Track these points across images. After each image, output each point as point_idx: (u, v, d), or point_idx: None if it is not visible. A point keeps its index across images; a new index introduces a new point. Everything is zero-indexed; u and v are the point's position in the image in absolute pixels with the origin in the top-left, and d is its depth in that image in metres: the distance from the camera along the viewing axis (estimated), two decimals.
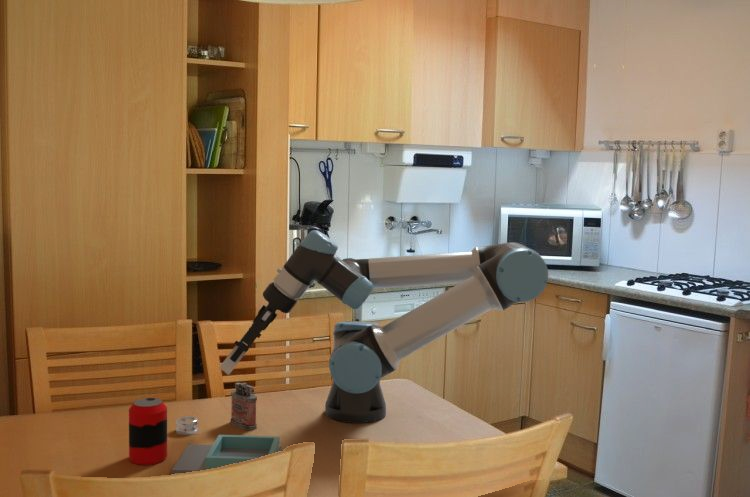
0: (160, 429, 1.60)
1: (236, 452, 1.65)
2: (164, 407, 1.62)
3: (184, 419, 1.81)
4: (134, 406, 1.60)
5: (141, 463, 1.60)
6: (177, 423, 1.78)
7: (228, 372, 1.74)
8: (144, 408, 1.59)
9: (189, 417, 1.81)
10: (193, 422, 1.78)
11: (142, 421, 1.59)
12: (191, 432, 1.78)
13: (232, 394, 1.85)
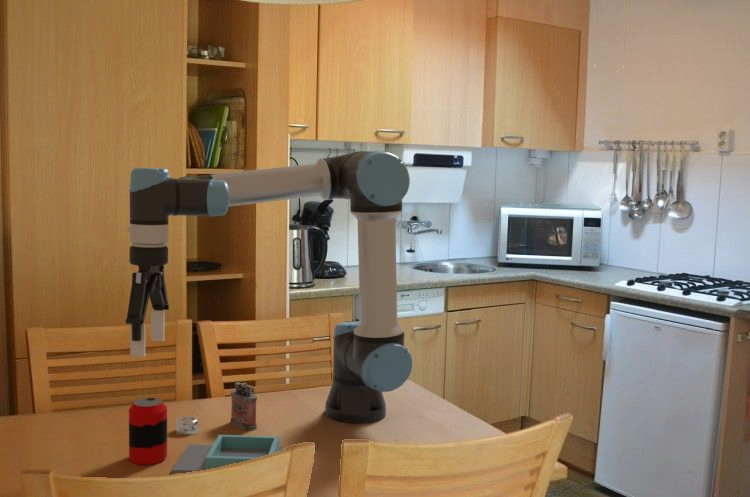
0: (160, 429, 1.60)
1: (236, 452, 1.65)
2: (164, 407, 1.62)
3: (184, 419, 1.81)
4: (134, 406, 1.60)
5: (141, 463, 1.60)
6: (177, 423, 1.78)
7: (142, 354, 1.54)
8: (144, 408, 1.59)
9: (189, 417, 1.81)
10: (193, 422, 1.78)
11: (142, 421, 1.59)
12: (191, 432, 1.78)
13: (232, 394, 1.85)
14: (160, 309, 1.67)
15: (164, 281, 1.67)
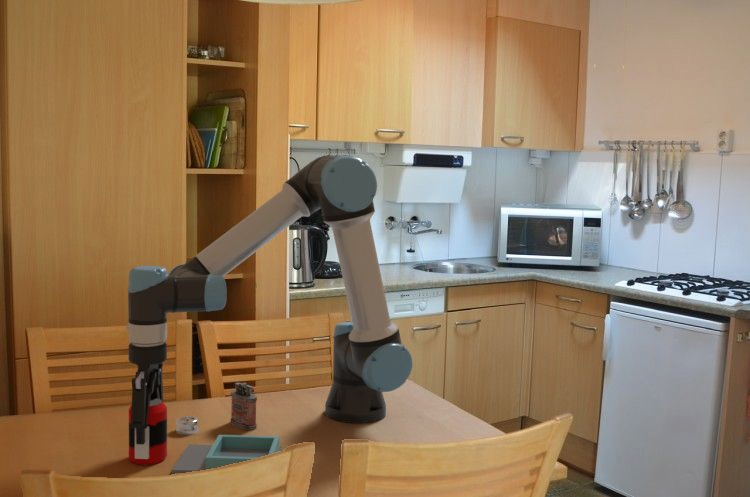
0: (160, 429, 1.60)
1: (236, 452, 1.65)
2: (164, 407, 1.62)
3: (184, 419, 1.81)
4: None
5: (141, 463, 1.60)
6: (177, 423, 1.78)
7: (146, 456, 1.59)
8: None
9: (189, 417, 1.81)
10: (193, 422, 1.78)
11: None
12: (191, 432, 1.78)
13: (232, 394, 1.85)
14: None
15: None
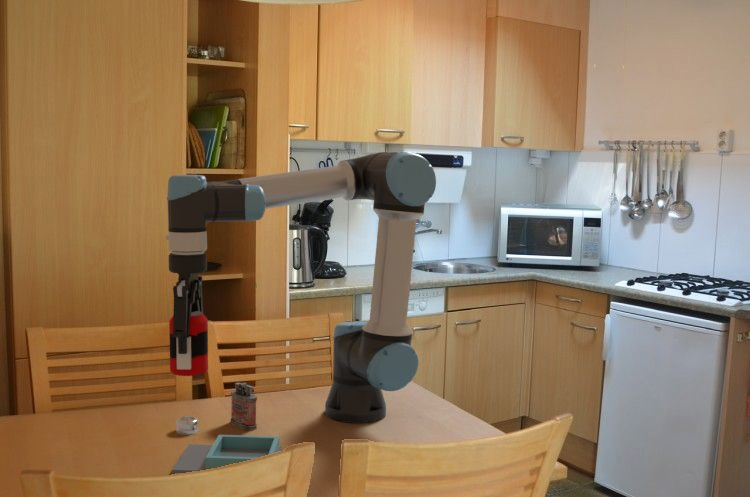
0: (201, 340, 1.58)
1: (236, 452, 1.65)
2: (205, 318, 1.60)
3: (184, 419, 1.81)
4: None
5: (182, 374, 1.57)
6: (177, 423, 1.78)
7: (188, 367, 1.56)
8: None
9: (189, 417, 1.81)
10: (193, 422, 1.78)
11: None
12: (191, 432, 1.78)
13: (232, 394, 1.85)
14: None
15: (201, 294, 1.66)
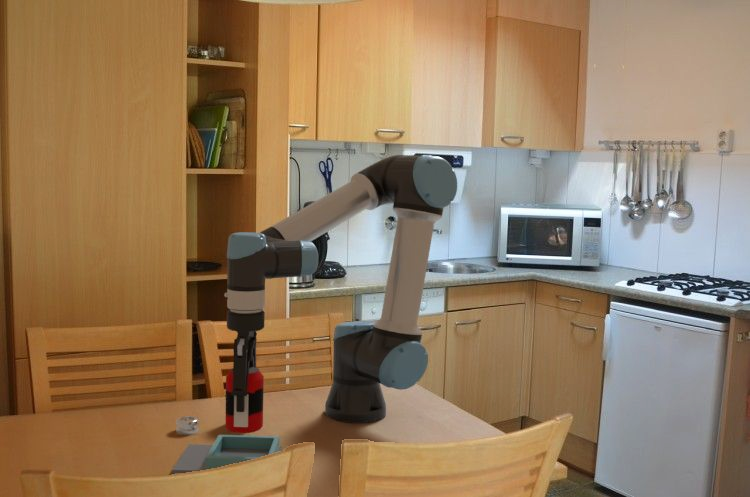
0: (258, 397, 1.59)
1: (236, 452, 1.65)
2: (261, 375, 1.60)
3: (184, 419, 1.81)
4: (232, 374, 1.58)
5: (239, 431, 1.58)
6: (177, 423, 1.78)
7: (245, 425, 1.57)
8: None
9: (189, 417, 1.81)
10: (193, 422, 1.78)
11: None
12: (191, 432, 1.78)
13: None
14: None
15: None
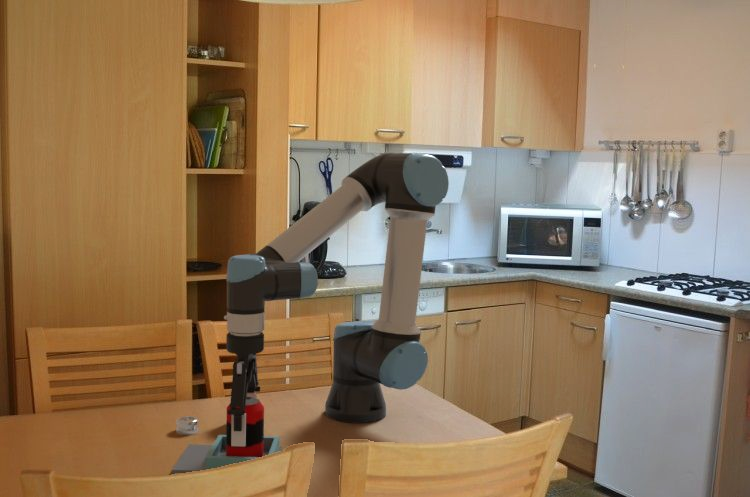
0: (259, 428, 1.60)
1: None
2: (262, 406, 1.61)
3: (184, 419, 1.81)
4: None
5: None
6: (177, 423, 1.78)
7: (243, 444, 1.54)
8: None
9: (189, 417, 1.81)
10: (193, 422, 1.78)
11: None
12: (191, 432, 1.78)
13: None
14: (252, 391, 1.68)
15: (256, 363, 1.68)
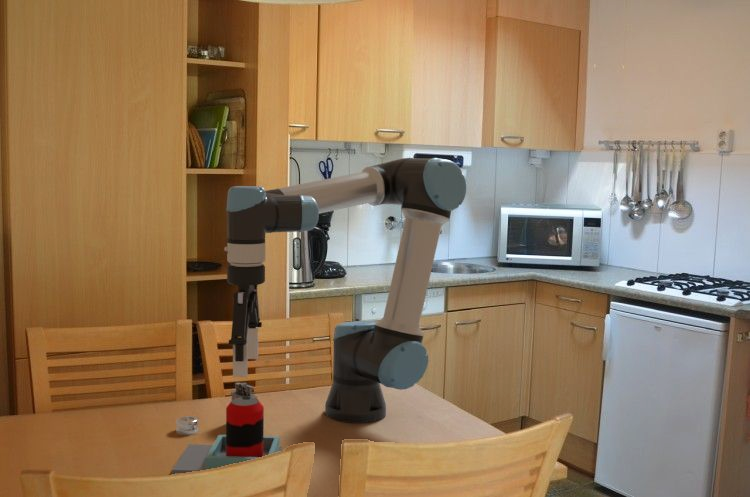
0: (259, 428, 1.60)
1: None
2: (261, 406, 1.61)
3: (184, 419, 1.81)
4: (232, 405, 1.59)
5: None
6: (177, 423, 1.78)
7: (244, 375, 1.53)
8: (243, 407, 1.58)
9: (189, 417, 1.81)
10: (193, 422, 1.78)
11: (242, 420, 1.58)
12: (191, 432, 1.78)
13: (232, 394, 1.85)
14: (253, 327, 1.66)
15: (257, 299, 1.66)
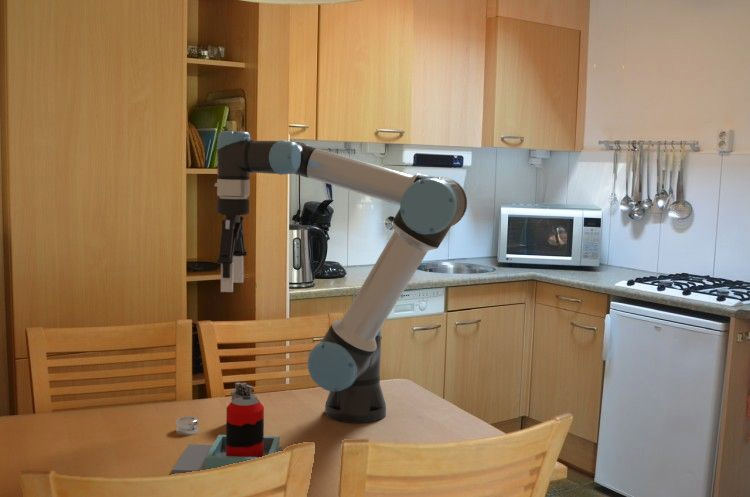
0: (259, 428, 1.60)
1: None
2: (262, 406, 1.61)
3: (184, 419, 1.81)
4: (233, 405, 1.59)
5: None
6: (177, 423, 1.78)
7: (230, 290, 1.80)
8: (243, 407, 1.58)
9: (189, 417, 1.81)
10: (193, 422, 1.78)
11: (242, 420, 1.58)
12: (191, 432, 1.78)
13: (232, 394, 1.85)
14: (239, 255, 1.94)
15: None
